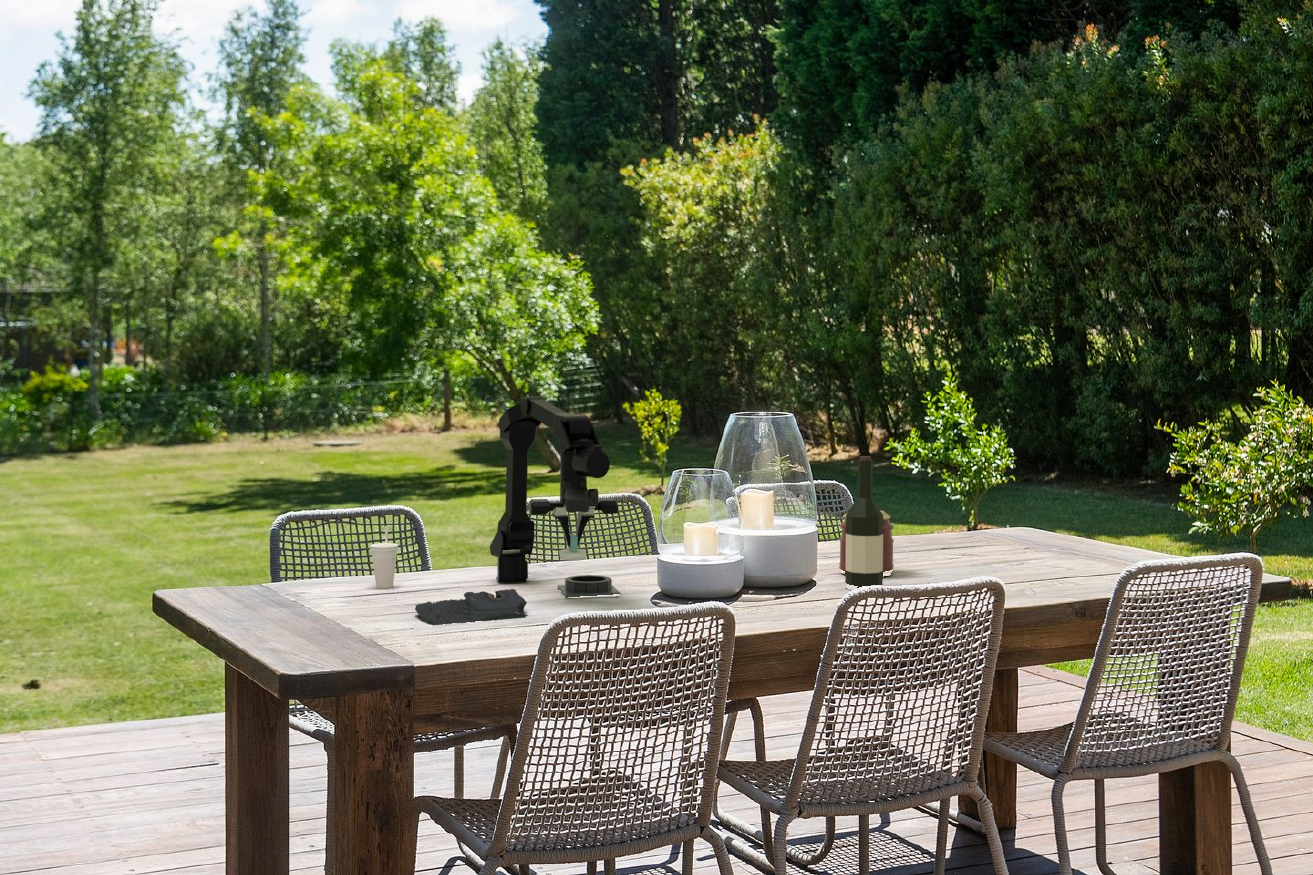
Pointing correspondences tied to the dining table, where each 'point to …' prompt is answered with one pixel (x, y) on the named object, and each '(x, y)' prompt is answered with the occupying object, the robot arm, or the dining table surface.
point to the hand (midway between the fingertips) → (573, 546)
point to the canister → (886, 544)
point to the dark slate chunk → (474, 608)
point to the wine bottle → (864, 532)
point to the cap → (573, 551)
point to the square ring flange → (587, 586)
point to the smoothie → (384, 562)
